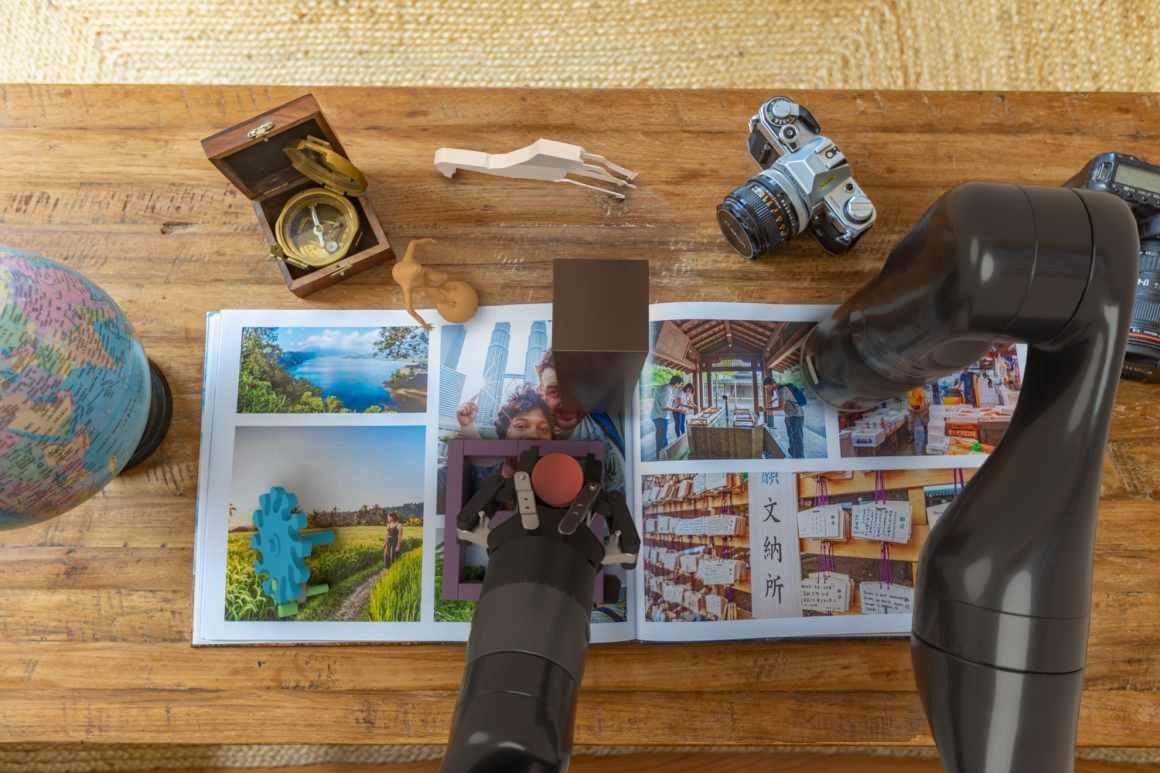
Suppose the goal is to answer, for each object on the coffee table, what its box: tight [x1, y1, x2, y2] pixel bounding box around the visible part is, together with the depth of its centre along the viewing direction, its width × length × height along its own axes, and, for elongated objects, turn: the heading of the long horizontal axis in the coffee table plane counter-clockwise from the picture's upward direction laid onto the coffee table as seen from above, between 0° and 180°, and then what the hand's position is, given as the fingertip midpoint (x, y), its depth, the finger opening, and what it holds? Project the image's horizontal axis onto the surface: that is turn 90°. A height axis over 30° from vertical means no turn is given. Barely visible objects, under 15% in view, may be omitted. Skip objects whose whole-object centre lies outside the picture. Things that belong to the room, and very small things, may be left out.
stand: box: [551, 257, 650, 414], centre depth 62 cm, size 6×6×26 cm
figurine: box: [391, 237, 480, 332], centre depth 70 cm, size 8×6×12 cm
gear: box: [250, 485, 336, 618], centre depth 69 cm, size 11×6×10 cm
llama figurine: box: [433, 137, 639, 199], centre depth 75 cm, size 2×11×18 cm
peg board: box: [441, 438, 606, 603], centre depth 70 cm, size 14×14×4 cm
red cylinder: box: [531, 453, 584, 509], centre depth 64 cm, size 4×4×8 cm
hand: (562, 457), depth 65 cm, fingers closed on red cylinder, 4 cm apart
